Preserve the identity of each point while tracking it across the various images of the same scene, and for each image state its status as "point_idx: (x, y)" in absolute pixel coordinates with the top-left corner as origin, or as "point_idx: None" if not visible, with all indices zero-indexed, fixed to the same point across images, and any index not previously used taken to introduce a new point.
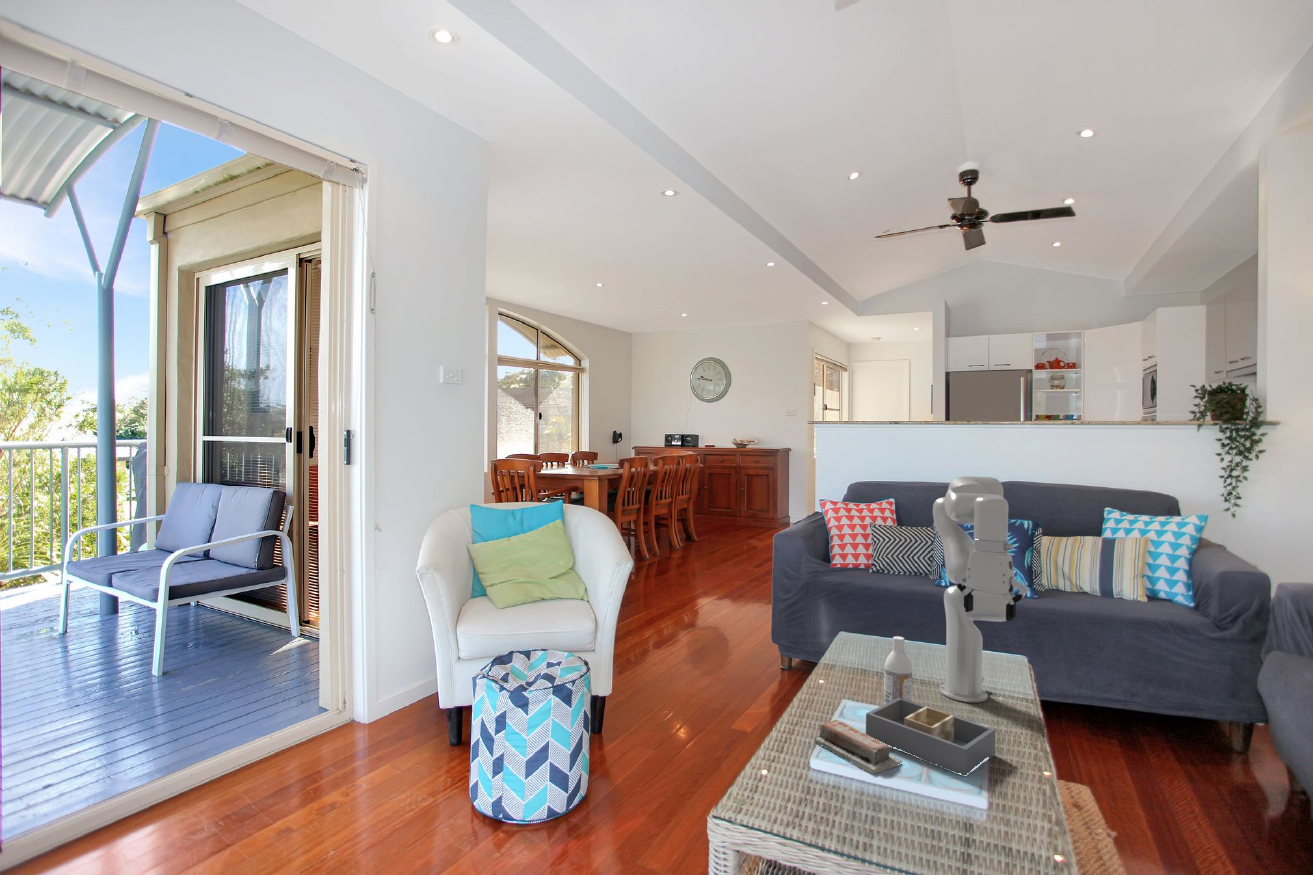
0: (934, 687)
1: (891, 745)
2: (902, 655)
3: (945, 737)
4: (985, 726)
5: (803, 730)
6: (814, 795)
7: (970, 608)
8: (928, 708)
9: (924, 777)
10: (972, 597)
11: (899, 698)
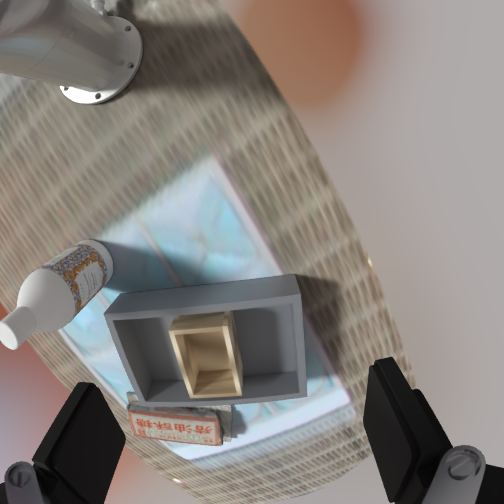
0: (52, 87)
1: None
2: (43, 322)
3: (235, 339)
4: (282, 298)
5: None
6: (230, 480)
7: (107, 427)
8: (177, 334)
9: (269, 405)
10: (67, 465)
11: (107, 317)
